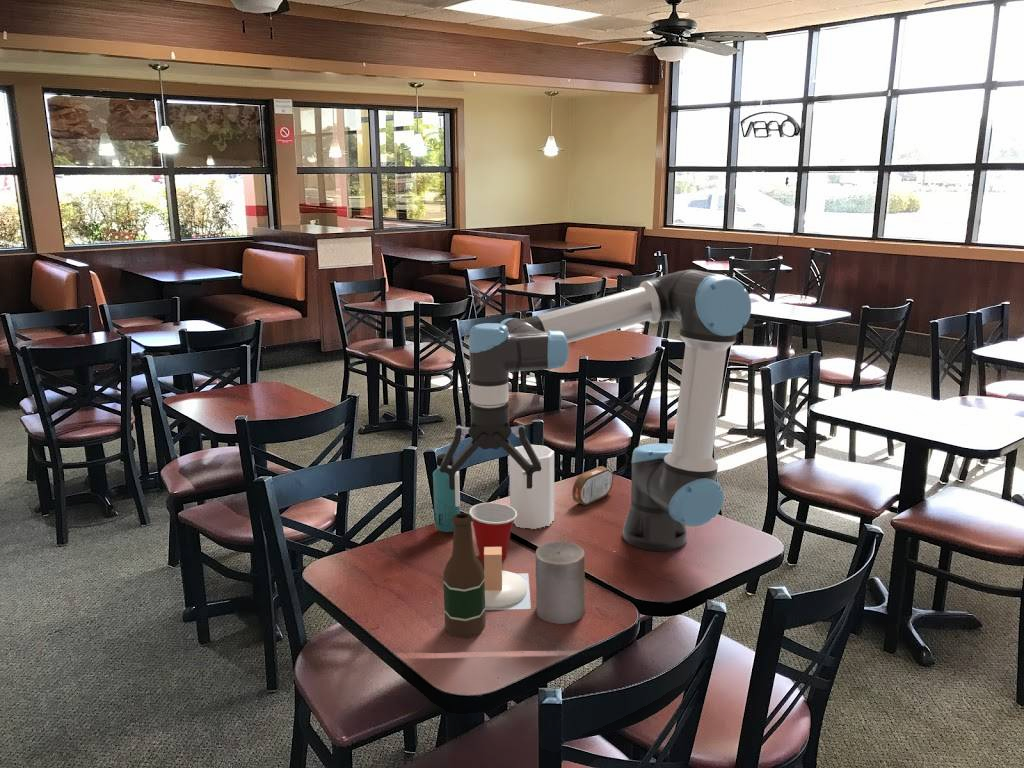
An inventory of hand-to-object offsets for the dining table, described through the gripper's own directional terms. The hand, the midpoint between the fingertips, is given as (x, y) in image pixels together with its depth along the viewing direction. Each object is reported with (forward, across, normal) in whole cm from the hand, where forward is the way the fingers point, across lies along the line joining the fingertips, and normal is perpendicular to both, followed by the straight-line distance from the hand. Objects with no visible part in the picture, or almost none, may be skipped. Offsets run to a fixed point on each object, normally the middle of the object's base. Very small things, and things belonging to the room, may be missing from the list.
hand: (491, 503), depth 166 cm
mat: (+20, 0, 0) cm, 20 cm away
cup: (+20, -10, -37) cm, 43 cm away
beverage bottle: (+21, +11, -31) cm, 39 cm away
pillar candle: (+21, -14, +8) cm, 26 cm away
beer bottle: (+21, +5, +14) cm, 25 cm away
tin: (+21, -27, -50) cm, 60 cm away
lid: (+20, 0, 0) cm, 20 cm away
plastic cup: (+21, 0, -16) cm, 26 cm away
